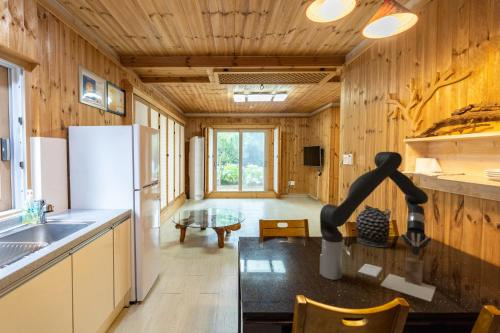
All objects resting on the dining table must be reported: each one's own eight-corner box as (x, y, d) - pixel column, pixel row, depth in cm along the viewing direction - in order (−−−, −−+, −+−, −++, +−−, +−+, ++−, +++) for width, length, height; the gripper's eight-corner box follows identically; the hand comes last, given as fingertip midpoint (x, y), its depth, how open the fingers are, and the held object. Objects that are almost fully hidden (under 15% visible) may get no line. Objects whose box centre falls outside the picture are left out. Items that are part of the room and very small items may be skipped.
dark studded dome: (391, 243, 164) (392, 205, 164) (388, 250, 152) (390, 209, 151) (357, 238, 176) (358, 202, 175) (352, 244, 164) (353, 205, 163)
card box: (404, 281, 113) (405, 259, 113) (406, 278, 116) (406, 257, 115) (420, 286, 109) (421, 263, 109) (421, 283, 112) (422, 260, 111)
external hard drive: (357, 274, 122) (365, 266, 131) (376, 280, 117) (382, 270, 126) (357, 271, 122) (365, 263, 131) (376, 276, 117) (382, 267, 126)
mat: (380, 286, 110) (380, 285, 110) (389, 274, 121) (389, 273, 121) (430, 303, 98) (430, 301, 98) (435, 288, 109) (436, 286, 109)
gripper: (400, 217, 132) (399, 248, 122) (432, 221, 124) (433, 254, 115) (400, 225, 136) (399, 255, 126) (431, 229, 129) (431, 261, 119)
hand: (415, 254), depth 120 cm, fingers closed
